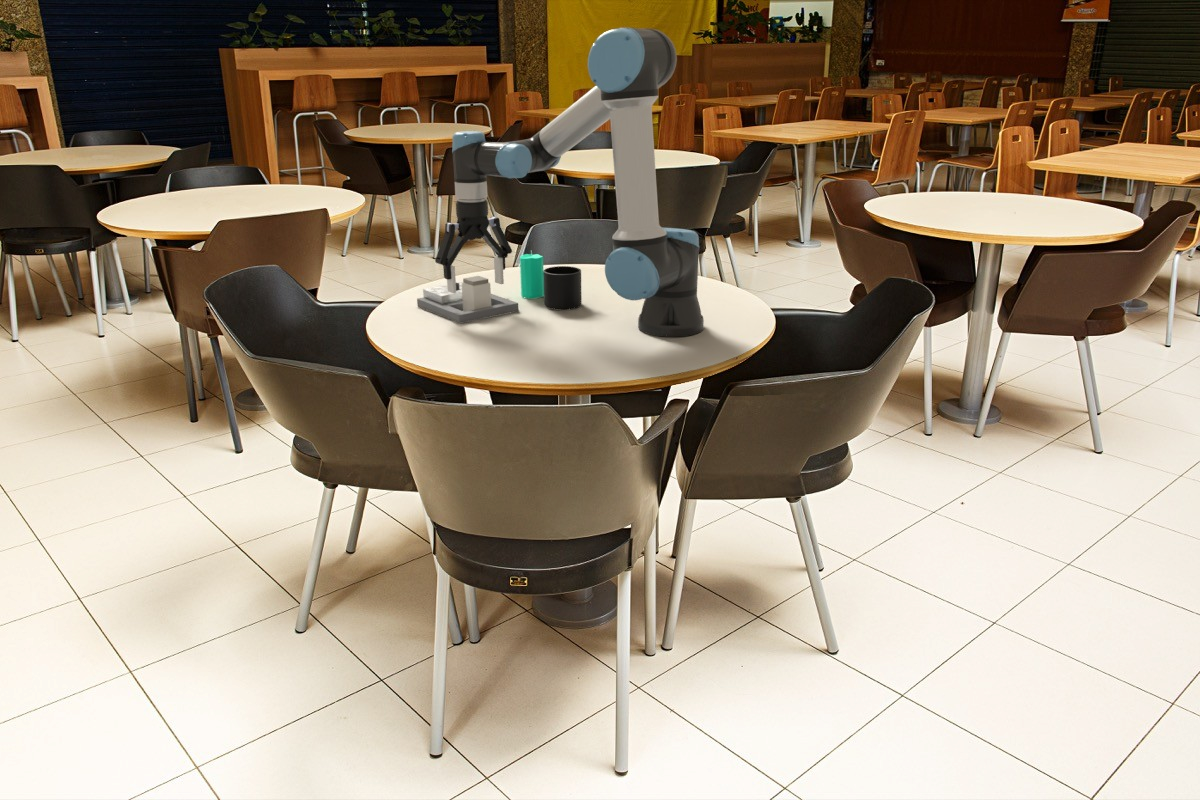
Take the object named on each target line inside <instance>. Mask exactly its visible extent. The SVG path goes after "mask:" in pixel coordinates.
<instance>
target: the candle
mask: <svg viewBox="0 0 1200 800" xmlns="http://www.w3.org/2000/svg"><path fill="white" fill-rule="evenodd" d="M519 264H520V266H519V267H520V268H519V269H520V290H521V291H520V295H521V297H522V298H524V297H525V299H540V298H543V297H544V274H543V271H544V256H543V255H540V254H537V253H536V254H533V252H532V250H530V253H529V254H528V253H526V254H522V255H520V256H519ZM542 296H543V297H542ZM539 297H540V298H539Z"/></svg>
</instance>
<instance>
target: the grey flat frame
mask: <svg viewBox="0 0 1200 800" xmlns="http://www.w3.org/2000/svg"><path fill="white" fill-rule="evenodd" d="M416 304H417V305H416V306H417V307H418V308H420V309H423V310H426V311H428V312H430V313H433V314H436V315H438V316H440V317H443V318H445V319H448V320H449V321H453V322H455V323H457V324H462V323H467V322H468V323H469V322H473V321H477V320H478V321H479V320H482V319H486V318H491V317H492V318H493V317H496V316H501V315H506V314H511V313H516V312H519V308H520V307H519V302H516V301H513V300H510V299H508V298H506V297H502V296H500V295H498V294H497V295H496V294H493V293H491V306H489V307H484V308H479V309H474V310H469V311H464V312H463V300H460V301H455V302H450V303H444V304H441V303H438V302H436V301H433V300H430V299H428V298H425V297H424V296H423V297H419V298H416ZM515 311H516V312H515ZM510 312H511V313H510Z"/></svg>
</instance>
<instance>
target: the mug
mask: <svg viewBox="0 0 1200 800" xmlns="http://www.w3.org/2000/svg"><path fill="white" fill-rule="evenodd" d="M543 274H544V296H543V301H544V304H543V305H544V307H546V308H547V309H550V310H551V309H552V310H555V311H557V310H558V311H566V310H567V311H568V310H569V309H570V310H573V309H577V308H580V307H581V306H582V302H583V301H582V269H581V268H578V267H575V266H568V265H567V266H566V265H563V266H562V265H560V266H559V265H557V266H551V267H548V268H546V267H545V269H543ZM570 310H569V311H570Z"/></svg>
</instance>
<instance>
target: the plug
mask: <svg viewBox="0 0 1200 800" xmlns="http://www.w3.org/2000/svg"><path fill="white" fill-rule="evenodd" d="M461 282H462V297H463V312H464V311H469V310H474V309H479V308H484V307H489V306H491V294H492V292H491V291H492V290H491V282H489V278H486V277H483V276H480V275H476V276H468V277H464V278H462V281H461Z"/></svg>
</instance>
